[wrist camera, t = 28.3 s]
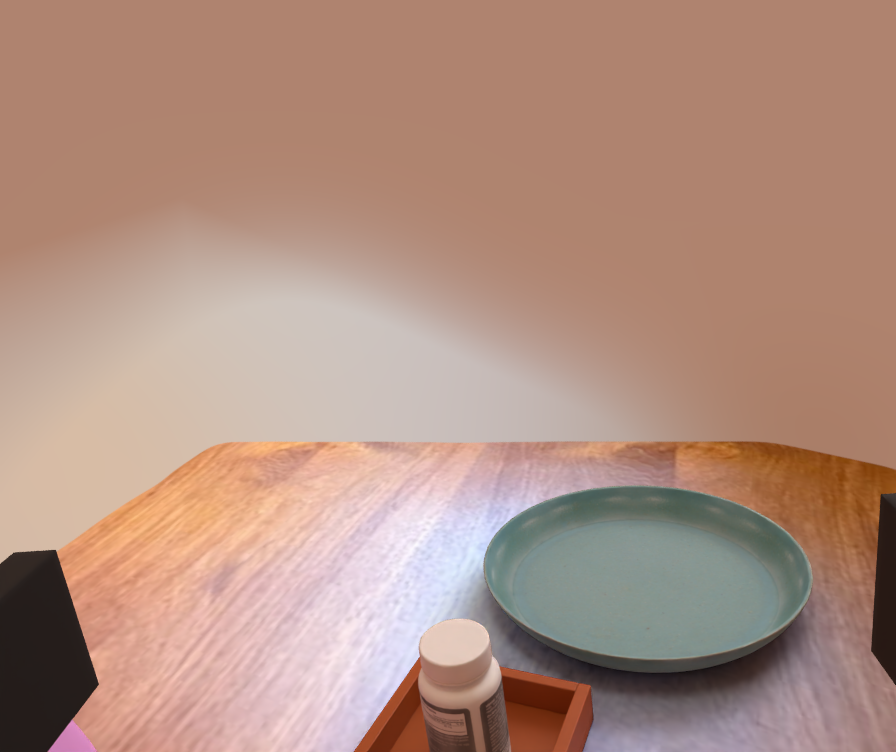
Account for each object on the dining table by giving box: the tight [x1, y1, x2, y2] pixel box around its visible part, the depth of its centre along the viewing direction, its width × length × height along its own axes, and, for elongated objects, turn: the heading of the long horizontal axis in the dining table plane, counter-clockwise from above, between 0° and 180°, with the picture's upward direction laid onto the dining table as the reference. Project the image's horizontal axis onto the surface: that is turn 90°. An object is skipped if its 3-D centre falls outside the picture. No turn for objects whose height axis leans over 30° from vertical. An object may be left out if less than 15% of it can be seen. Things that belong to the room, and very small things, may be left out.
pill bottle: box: [418, 619, 511, 752], centre depth 41 cm, size 5×5×8 cm
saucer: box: [484, 486, 813, 673], centre depth 57 cm, size 24×24×3 cm
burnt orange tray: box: [354, 657, 593, 752], centre depth 42 cm, size 12×12×3 cm
